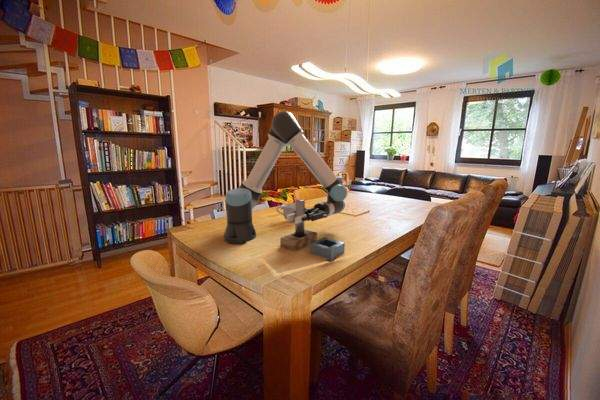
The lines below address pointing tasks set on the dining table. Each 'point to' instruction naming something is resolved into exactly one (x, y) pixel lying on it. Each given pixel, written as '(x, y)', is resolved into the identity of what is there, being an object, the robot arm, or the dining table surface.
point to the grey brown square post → (298, 212)
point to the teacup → (287, 210)
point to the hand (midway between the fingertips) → (291, 219)
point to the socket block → (327, 248)
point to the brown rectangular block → (298, 240)
